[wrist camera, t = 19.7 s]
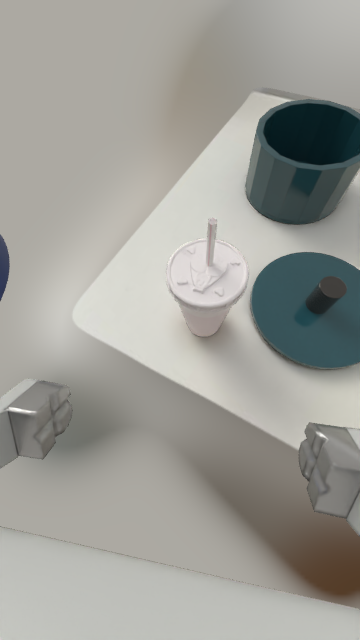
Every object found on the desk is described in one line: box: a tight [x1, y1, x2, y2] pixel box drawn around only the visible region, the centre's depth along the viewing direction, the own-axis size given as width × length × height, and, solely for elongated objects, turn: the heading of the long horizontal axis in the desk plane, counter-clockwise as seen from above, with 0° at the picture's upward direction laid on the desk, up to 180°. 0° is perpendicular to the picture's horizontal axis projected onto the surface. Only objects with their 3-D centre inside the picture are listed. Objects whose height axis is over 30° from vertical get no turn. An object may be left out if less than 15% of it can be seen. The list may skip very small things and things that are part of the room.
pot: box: [245, 99, 360, 224], centre depth 32 cm, size 13×13×8 cm
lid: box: [250, 252, 360, 369], centre depth 26 cm, size 14×14×5 cm
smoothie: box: [166, 218, 249, 337], centre depth 22 cm, size 6×6×14 cm
